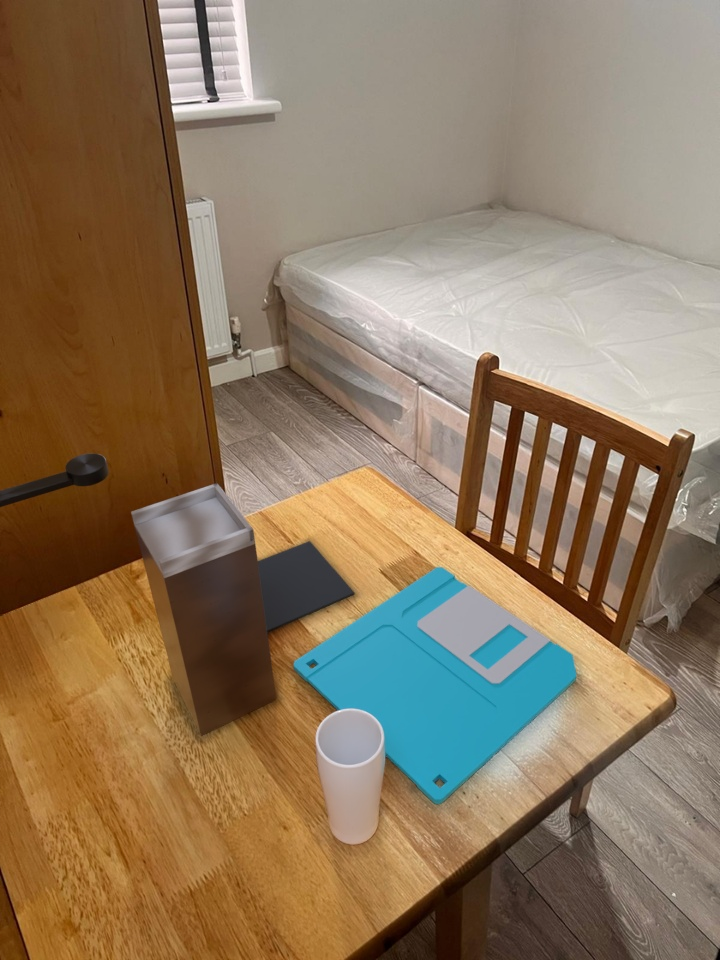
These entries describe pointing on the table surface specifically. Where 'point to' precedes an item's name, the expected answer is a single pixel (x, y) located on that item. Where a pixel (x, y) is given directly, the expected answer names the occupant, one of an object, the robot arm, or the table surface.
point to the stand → (208, 603)
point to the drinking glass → (351, 772)
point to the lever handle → (60, 479)
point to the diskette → (440, 677)
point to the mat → (298, 585)
